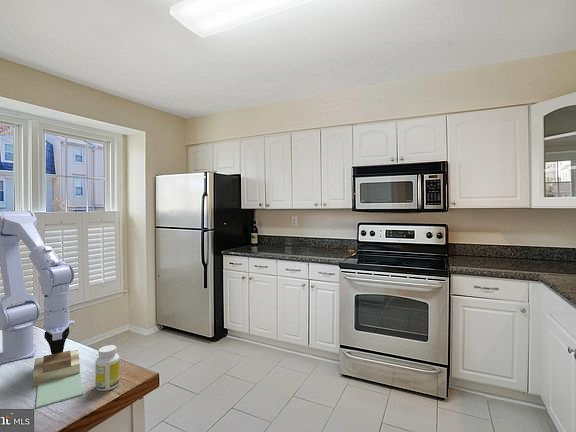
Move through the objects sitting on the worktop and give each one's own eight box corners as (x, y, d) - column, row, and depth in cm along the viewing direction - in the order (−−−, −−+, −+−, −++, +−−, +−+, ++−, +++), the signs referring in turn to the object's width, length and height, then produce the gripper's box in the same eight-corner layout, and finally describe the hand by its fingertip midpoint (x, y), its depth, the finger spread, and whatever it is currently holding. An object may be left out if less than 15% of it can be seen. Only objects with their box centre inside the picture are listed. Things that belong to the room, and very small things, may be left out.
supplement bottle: (120, 378, 85) (120, 342, 85) (119, 388, 80) (119, 351, 80) (96, 382, 83) (96, 345, 82) (94, 393, 78) (94, 355, 78)
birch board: (35, 369, 88) (35, 358, 88) (77, 359, 94) (77, 349, 94) (33, 386, 80) (32, 375, 80) (79, 374, 86) (79, 363, 86)
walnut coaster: (43, 363, 86) (43, 356, 86) (70, 357, 90) (70, 350, 90) (42, 373, 81) (42, 365, 81) (71, 366, 85) (71, 359, 85)
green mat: (38, 385, 81) (38, 384, 81) (80, 374, 86) (80, 373, 86) (35, 408, 72) (35, 406, 72) (82, 395, 77) (82, 393, 77)
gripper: (75, 313, 85) (75, 362, 85) (72, 299, 96) (73, 343, 97) (42, 318, 81) (42, 370, 81) (43, 303, 92) (44, 349, 93)
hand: (57, 356), depth 89 cm, fingers closed
